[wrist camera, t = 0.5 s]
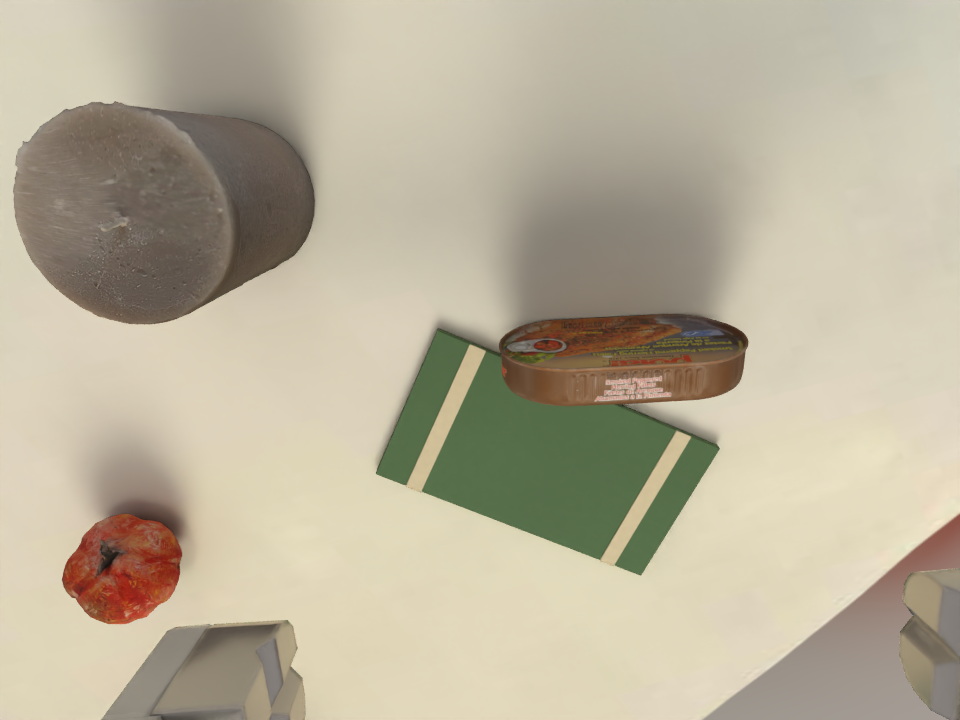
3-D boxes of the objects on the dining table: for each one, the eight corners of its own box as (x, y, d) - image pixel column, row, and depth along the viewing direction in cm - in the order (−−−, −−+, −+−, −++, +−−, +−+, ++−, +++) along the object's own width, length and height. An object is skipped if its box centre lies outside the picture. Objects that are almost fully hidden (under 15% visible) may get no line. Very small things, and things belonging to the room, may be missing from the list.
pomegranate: (208, 561, 52) (198, 527, 44) (150, 650, 48) (126, 630, 40) (127, 521, 52) (102, 479, 44) (61, 607, 47) (19, 578, 39)
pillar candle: (281, 297, 42) (177, 372, 28) (143, 227, 41) (-40, 270, 27) (340, 164, 40) (258, 174, 25) (194, 85, 38) (20, 48, 24)
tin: (719, 311, 42) (774, 348, 34) (716, 355, 43) (768, 401, 35) (497, 321, 43) (500, 361, 35) (499, 365, 44) (502, 413, 36)
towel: (438, 327, 43) (437, 330, 42) (717, 444, 46) (720, 449, 45) (376, 470, 46) (375, 474, 46) (639, 570, 49) (641, 576, 48)
